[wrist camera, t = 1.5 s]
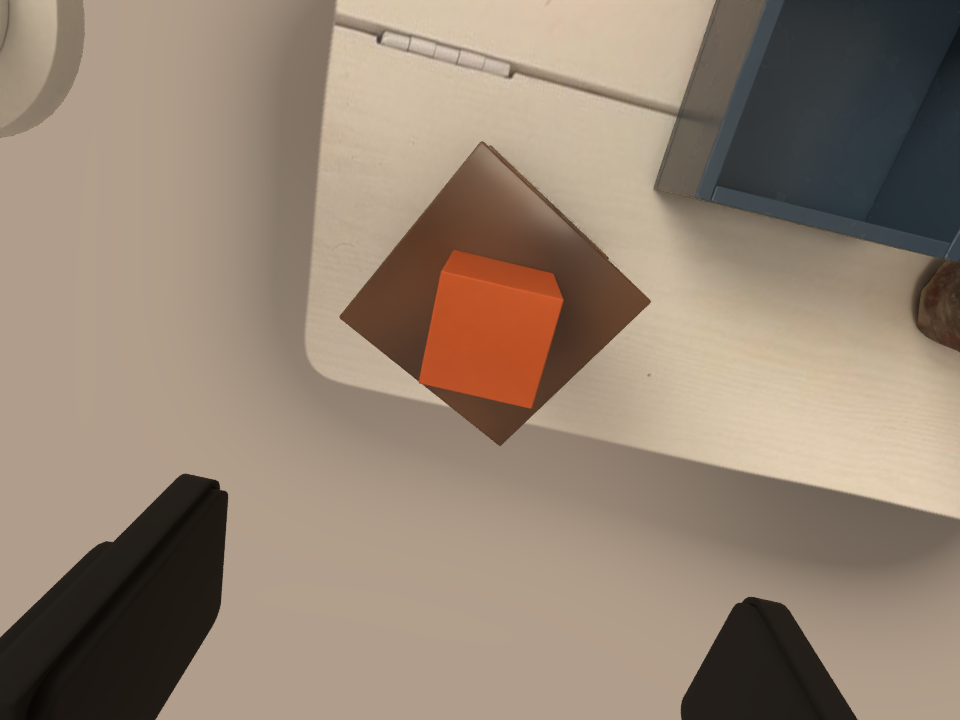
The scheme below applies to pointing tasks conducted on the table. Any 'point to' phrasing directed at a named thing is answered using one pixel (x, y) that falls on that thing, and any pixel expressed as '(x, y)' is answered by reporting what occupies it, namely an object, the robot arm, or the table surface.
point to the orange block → (491, 329)
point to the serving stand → (505, 237)
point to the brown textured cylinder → (942, 306)
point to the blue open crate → (828, 118)
